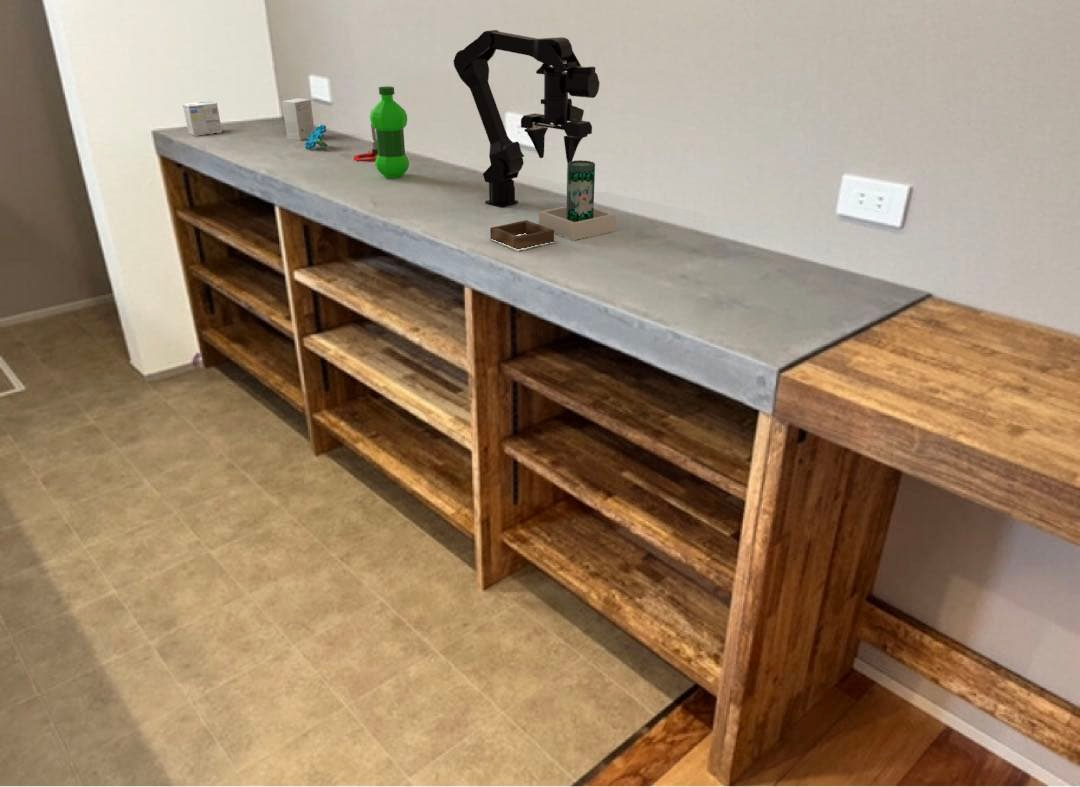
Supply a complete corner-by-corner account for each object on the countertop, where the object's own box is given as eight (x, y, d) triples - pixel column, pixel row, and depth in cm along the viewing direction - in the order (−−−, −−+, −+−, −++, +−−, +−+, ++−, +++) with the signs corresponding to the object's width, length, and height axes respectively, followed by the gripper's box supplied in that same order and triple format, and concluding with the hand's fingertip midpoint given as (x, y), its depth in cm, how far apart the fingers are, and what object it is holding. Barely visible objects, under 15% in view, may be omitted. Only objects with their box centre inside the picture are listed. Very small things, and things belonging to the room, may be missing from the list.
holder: (490, 240, 191) (490, 227, 190) (526, 232, 197) (526, 220, 195) (517, 251, 184) (517, 238, 182) (554, 243, 190) (554, 230, 188)
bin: (538, 228, 200) (538, 211, 198) (579, 218, 207) (580, 203, 205) (573, 241, 191) (573, 224, 189) (615, 231, 198) (615, 214, 196)
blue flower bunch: (301, 141, 284) (320, 119, 283) (314, 152, 288) (333, 130, 287) (306, 152, 276) (326, 129, 274) (320, 163, 280) (339, 141, 278)
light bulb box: (216, 130, 310) (211, 100, 305) (223, 133, 305) (217, 102, 300) (187, 134, 304) (181, 103, 299) (193, 136, 299) (188, 105, 294)
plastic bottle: (377, 172, 251) (369, 85, 239) (412, 172, 251) (406, 84, 240) (373, 180, 242) (365, 90, 230) (409, 180, 243) (403, 89, 231)
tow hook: (366, 164, 263) (387, 158, 269) (361, 122, 256) (382, 117, 263) (348, 161, 267) (369, 155, 274) (342, 119, 261) (364, 114, 267)
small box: (302, 135, 302) (297, 97, 296) (315, 137, 300) (311, 99, 294) (286, 139, 296) (281, 100, 290) (300, 140, 293) (295, 102, 287)
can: (570, 231, 195) (571, 166, 188) (564, 223, 200) (565, 160, 193) (595, 229, 196) (597, 165, 189) (588, 222, 202) (590, 159, 195)
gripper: (607, 94, 199) (604, 161, 206) (549, 87, 210) (548, 150, 217) (577, 100, 192) (576, 168, 199) (519, 92, 203) (519, 157, 210)
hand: (555, 160), depth 207 cm, fingers open, 9 cm apart
